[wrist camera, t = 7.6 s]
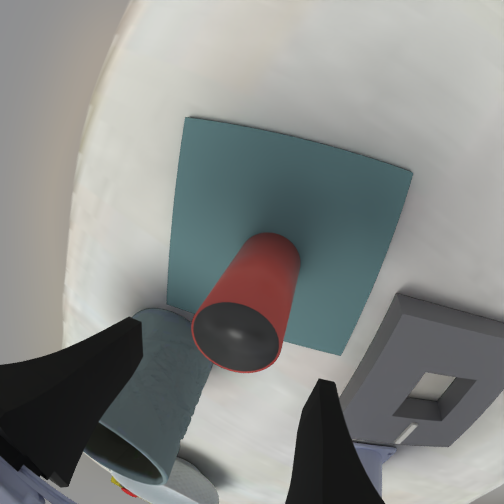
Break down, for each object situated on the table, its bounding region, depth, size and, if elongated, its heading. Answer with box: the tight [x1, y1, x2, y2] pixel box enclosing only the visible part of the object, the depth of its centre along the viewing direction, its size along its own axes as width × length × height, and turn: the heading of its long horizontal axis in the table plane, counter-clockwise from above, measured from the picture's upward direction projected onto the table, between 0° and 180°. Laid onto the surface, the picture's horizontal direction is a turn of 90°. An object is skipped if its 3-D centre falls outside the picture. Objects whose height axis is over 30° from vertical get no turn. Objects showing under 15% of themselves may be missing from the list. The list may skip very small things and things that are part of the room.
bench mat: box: [167, 117, 413, 356], centre depth 20 cm, size 14×14×1 cm
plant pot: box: [83, 308, 212, 486], centre depth 21 cm, size 10×10×12 cm
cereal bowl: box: [111, 457, 219, 504], centre depth 35 cm, size 17×17×7 cm
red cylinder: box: [191, 232, 301, 373], centre depth 16 cm, size 4×4×8 cm
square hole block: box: [339, 293, 504, 447], centre depth 20 cm, size 14×14×3 cm
